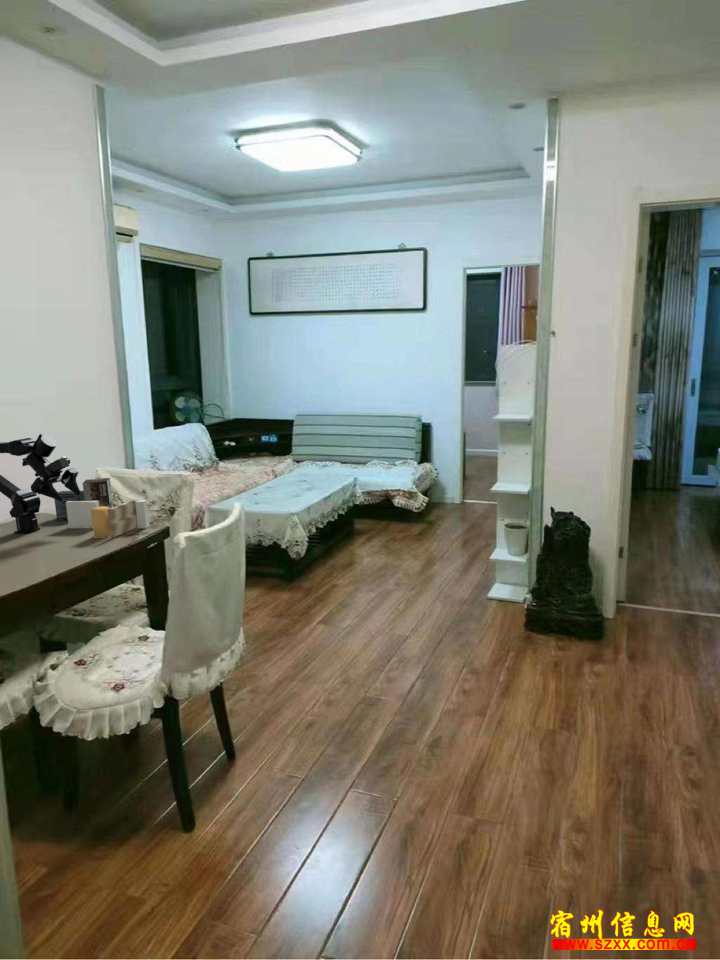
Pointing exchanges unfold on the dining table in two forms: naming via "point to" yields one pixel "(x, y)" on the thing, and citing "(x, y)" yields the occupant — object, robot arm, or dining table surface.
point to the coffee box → (98, 491)
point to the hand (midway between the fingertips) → (71, 497)
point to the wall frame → (81, 510)
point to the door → (122, 518)
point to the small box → (61, 505)
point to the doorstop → (100, 522)
